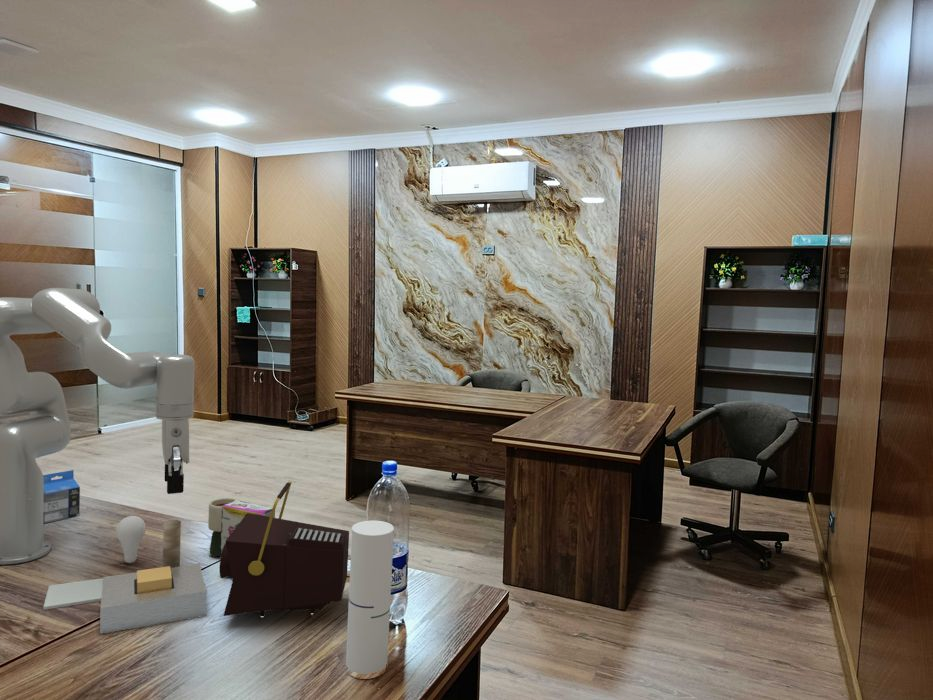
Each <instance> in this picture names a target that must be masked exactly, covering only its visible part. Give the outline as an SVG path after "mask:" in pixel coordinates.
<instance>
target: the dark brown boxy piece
mask: <svg viewBox="0 0 933 700" xmlns="http://www.w3.org/2000/svg"><path fill="white" fill-rule="evenodd" d="M291 485H292V481H290V480H289V481H288V482H286V483H285V485H284V486H283V487H282V488H281V490H280V492H279V493H278V495H277V496H276V499H275V501H274V502H273V505H272V511H271V515H270V517H267V516H261V515H256V514H250V513H247V514H246V515H245V517H244V518H243V519H242V520H241V522H240V523H239V524H238V526H237V527H236V528H235V529H234V531H233V532H232V533H231V534H230V536H229V537H228V538H227V540H226V543H225V545H224V547H223V550H222V553H221V556H220V559H219V568H218V569H219V576H220V577H219V578H220V579H225V578H230V576H232V578H231V585H230V589H229V592H228V596H227V601H226V604H225V607H224V611H223V615H222V617H226V616H227V617H228V616H234V615H243V614H251V613H258V612H259V617H260V616H264V615H266V612H271V611H273V612H274V611H275V612H278V611H279V612H280V611H281V612H283V611H309V614H310V613H314V614H315V611H321V610H322V609H324V608H325V607H326V606H328V605H329V604H331V603H337V602H342V599H343V596H344V590H345V586H346V581H347V578H348V566H349V547H350V546H349V545H350V543H349V542H350V531H349V530H345V529H340V528H335V527H328V526H323V525H317V524H311V523H307V522H306V523H304V522H300V521H299V522H298V521H296V520H295V521H294V520H289V519H285V518H284V519H283V513H284V510H285V506H286V504H287V499H288V497H289V491H290V490H291ZM283 497H284V498H283ZM282 498H283V501H282V506H281V509H280V512H279V516H278V518H277V517H275V518H273V515H274V512H275V513H276V508H277V505H278V503H279V501H280V500H281V499H282ZM264 617H265V616H264Z"/></svg>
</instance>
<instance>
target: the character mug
mask: <svg viewBox="0 0 933 700" xmlns="http://www.w3.org/2000/svg"><path fill="white" fill-rule="evenodd" d="M235 500H238V501H240V499H239V498H234V497H222V498H221V497H220V498H216V499H213V500H210V501H209V503H208V521H207V523H208V529H209V530H210V531H212V534H211V539H210V544H209V555H211V556H213V557H221V524H222V506H223V505H225V504H228V503H230V502H232V501H235Z"/></svg>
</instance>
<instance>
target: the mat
mask: <svg viewBox="0 0 933 700" xmlns="http://www.w3.org/2000/svg"><path fill="white" fill-rule="evenodd" d="M102 584H103V577H102V578H95V579H87V580H86V579H85V580H80V581H73V582H66V583H59V584H50V585H48V588H47V589H48V590H47V592H46V596H45V600H44V604H43V607H42V609H43V611H44V610H45V611H47V610H52V609H58V608H59V607H60V608H65V607H71V605H73V606H78V605H84V604H85V605H86V604H91V603H98V602H101V596H102ZM60 608H59V609H60Z"/></svg>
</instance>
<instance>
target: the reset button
mask: <svg viewBox="0 0 933 700" xmlns="http://www.w3.org/2000/svg"><path fill="white" fill-rule="evenodd" d="M136 572H137V594H142V593H149V592H155V591H162V590H168V589H172V575H171V569H170V566H167V567H163V566H161V567H160V566H159V567H155V568H148V569H142V570H141V569H140V570H139V569H138V570H136Z"/></svg>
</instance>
